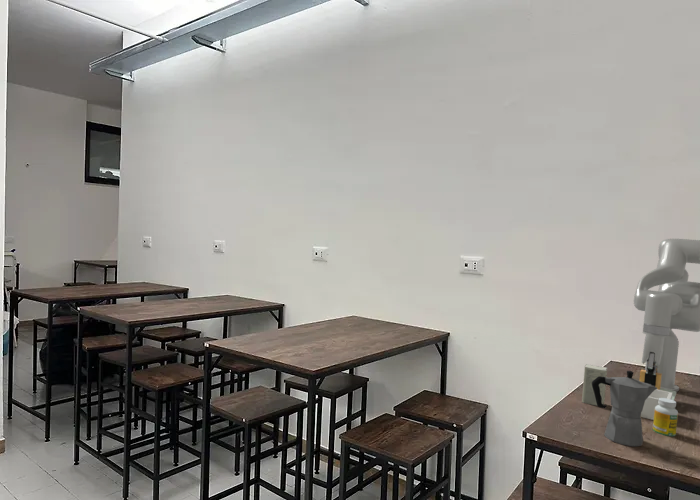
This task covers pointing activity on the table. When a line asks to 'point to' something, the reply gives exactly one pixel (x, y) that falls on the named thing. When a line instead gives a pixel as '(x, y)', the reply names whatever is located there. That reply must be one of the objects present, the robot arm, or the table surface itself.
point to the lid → (657, 382)
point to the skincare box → (590, 375)
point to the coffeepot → (624, 407)
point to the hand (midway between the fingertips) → (650, 384)
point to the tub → (653, 403)
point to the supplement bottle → (665, 417)
